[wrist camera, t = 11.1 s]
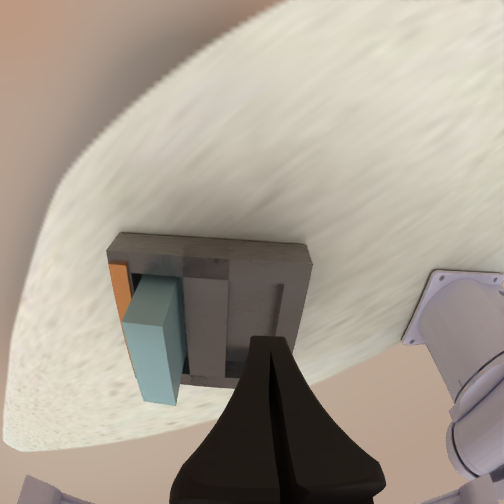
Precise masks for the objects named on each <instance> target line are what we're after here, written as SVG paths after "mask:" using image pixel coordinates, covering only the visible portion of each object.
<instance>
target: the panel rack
mask: <svg viewBox="0 0 504 504" xmlns="http://www.w3.org/2000/svg"><path fill="white" fill-rule="evenodd" d="M106 251H107V257H108V263H109V269H110V275H111V280H112V285H113V290H114V295H115V300H116V304H117V309H118V313H119V318H120V322H121V326H122V319H123V317H124V315H125V313H126V310H127V308H128V306H129V304H130V302H131V300H132V297H133V295H134V293H135V291H136V289H137V287H138V285H139V283H140V281H141V278H142V276H143V274H151V275H163V276H176V277H181V292H182V307H183V321H184V334H185V345H186V354H185V360H184V365H183V370H182V375H181V381H180V384H184V385H194V386H205V387H217V388H232V389H235V388H236V386H237V384H238V382H239V379H240V377H241V374H242V371H243V369H244V366H245V363H246V360H247V356H248V352H249V346H250V337H252V336H253V335H255V336H283V337H285V338H286V340H287V343H288V346H289V348H290V351H291V353H293V349H294V345H295V341H296V337H297V333H298V329H299V324H300V320H301V316H302V312H303V307H304V303H305V298H306V294H307V289H308V285H309V280H310V275H311V271H312V266H313V264H312V260H311V257H310V254H309V251H308V248H307V245H299V244H285V243H270V242H256V241H241V240H226V239H210V238H195V237H179V236H162V235H146V234H128V233H119V234H118V236H117V237H116V238H115V239H114V241H113V242H112V243H111V245H110V246H109V247H108V249H107V250H106ZM122 330H123V327H122ZM123 334H124V331H123ZM124 338H125V335H124ZM125 342H126V339H125ZM126 346H127V342H126ZM127 349H128V346H127ZM128 353H129V350H128ZM129 357H130V354H129ZM130 360H131V357H130ZM131 364H132V361H131ZM132 367H133V364H132ZM133 371H134V368H133ZM134 374H135V371H134ZM135 377H136V375H135Z"/></svg>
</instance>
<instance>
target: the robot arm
mask: <svg viewBox="0 0 504 504" xmlns="http://www.w3.org/2000/svg"><path fill="white" fill-rule="evenodd" d="M441 276H442V277H441ZM503 282H504V275H503V274H501V273H481V272H462V271H443V270H436V271H434V272H433V273H432V274H431V276H430V279H429V281H428V284H427V286H426V288H425V291H424V293H423V295H422V298H421V300H420V302H419V305H418V307H417V309H416V311H415V313H414V316H413V318H412V320H411V322H410V324H409V326H408V328H407V330H406V332H405V335H404V337H403V339H402V343H403V345H418V344H426V346H427V348H428V350H429V352H430V354H431V356H432V358H433V360H434V362H435V363H436V366H437V368H438V370H439V372H440V374H441V376H442V378H443V380H444V382H445V384H446V386H447V388H448V391H449V393H450V395H451V397H452V399H453V401H454V404H455V405H454V406H453V407H452V408H451V409H450V410H449V413H450V415H451V418H452V420H453V422H451V423H450V425H449V427H448V429H447V433H446V448H447V453H448V457H449V459H450V462H451V463H452V465H453V467H454V468H455V470H456V471H457V472H458V473H459V474H460V475H461V476H463V477H464V478H466V479H467V480H469V482H468V483H466V484H464V485H463V486H461V487H460V488H459V489H457V490H455V491H452V492H449V493H447V494H444V495H441V496H438V497H436V498H433V499H430V500H427V501H424V502H421V503H418V504H499V501H498V500H504V287H503V286H502V284H503ZM385 486H386V481H385V477H384V474H383V471H382V469H381V466H380V464H379V462H378V461H376V460H375V459H374V458H372V457H371V456H370V455H369V454H367V453H366V452H365V451H364V450H363V449H361V448H360V447H359V446H358V445H357V444H356V443H355V442H354V441H353V440H351V439H350V438H349V436H348V435H347V434H346V433H345V432H344V431H343V430H342V429H341V428H340V427H339V426H338V425H337V424H336V423H335V422H334V421H333V419H332V418H331V417H330V416H329V414H328V413H327V412H326V410H325V409H324V408H323V407H322V405H321V404H320V403H319V401H318V400H317V398H316V397H315V395H314V394H313V392H312V390H311V389H310V387H309V386H308V384H307V382H306V381H305V379H304V377H303V375H302V373H301V371H300V370H299V368H298V366H297V364H296V362H295V360H294V357H293V355H292V353H291V351H290V348H289V346H288V343H287V340H286V338H285V337H283V336H255V335H253V336H252V337H250V346H249V352H248V356H247V360H246V363H245V366H244V369H243V371H242V374H241V377H240V379H239V382H238V384H237V386H236V388H235V390H234V393H233V395H232V397H231V399H230V401H229V402H228V404H227V406H226V408H225V410H224V411H223V413H222V415H221V416H220V418H219V419H218V421H217V423H216V424H215V426H214V427H213V429H212V430H211V431H210V433H209V434H208V435H207V437H206V438H205V439H204V441H203V442H202V443H201V445H200V446H199V447H198V448H197V450H196V451H195V452H194V453H193V454H192V455H191V456H190V457H189V459H188V460H187V461H186V462H185V463H184V464H183V465H182V467H181V469H180V471H179V473H178V474H177V476H176V478H175V480H174V482H173V485H172V487H171V491H170V500H169V504H374V502H373V497H374V496H375V495H376V494H378V493H379V492H381V491H382V490H383V489H384V488H385ZM17 504H94V503H90V502H88V501H84V500H81V499H79V498H75V497H73V496H70V495H67V494H65V493H62V492H61V491H60V490H59V489H57V488H56V487H54V486H52V485H50V484H48V483H46V482H43V481H41V480H38V479H36V478H34V477H32V476H29V475H26V477H25V480H24V483H23V487H22V490H21V493H20V496H19V500H18V503H17Z"/></svg>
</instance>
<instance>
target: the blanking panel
mask: <svg viewBox="0 0 504 504" xmlns="http://www.w3.org/2000/svg"><path fill="white" fill-rule="evenodd" d="M122 327H123V331H124V335H125V339H126V342H127V346H128V350H129V354H130V357H131V361H132V364H133V368H134V371H135V375H136V378H137V381H138V384H139V388H140V391H141V394H142V397H143V400H144V401H145V402H152V403H159V404H166V405H174V406H176V403H177V397H178V391H179V386H180V381H181V375H182V370H183V365H184V360H185V354H186V345H185V334H184V321H183V307H182V292H181V277H176V276H163V275H151V274H143V276H142V278H141V281H140V283H139V285H138V287H137V289H136V291H135V293H134V295H133V297H132V300H131V302H130V304H129V306H128V308H127V310H126V313H125V315H124V317H123V319H122Z"/></svg>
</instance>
